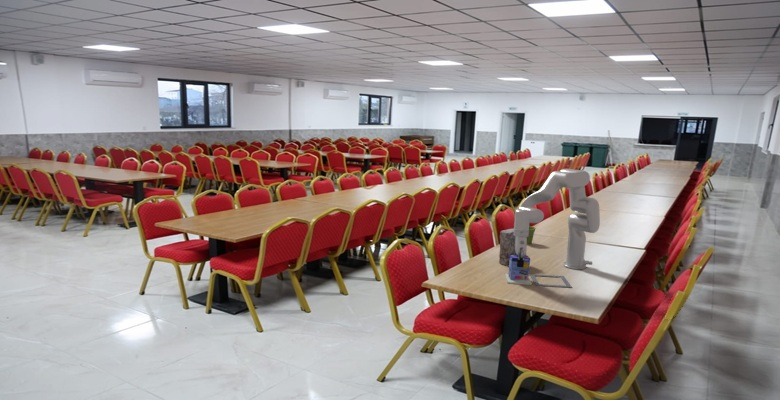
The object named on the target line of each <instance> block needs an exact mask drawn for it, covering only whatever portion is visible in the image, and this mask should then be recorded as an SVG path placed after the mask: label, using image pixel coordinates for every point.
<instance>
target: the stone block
mask: <svg viewBox="0 0 780 400" xmlns="http://www.w3.org/2000/svg"><path fill="white" fill-rule="evenodd" d="M515 237H516V236H514V228H508V229H504V230H501V231H500V232H499V256H498V257H499V260H498V261H499V262H498V263H499V264H501V265H503V266H509V261H510V255H515Z"/></svg>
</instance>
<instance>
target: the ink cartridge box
mask: <svg viewBox="0 0 780 400" xmlns="http://www.w3.org/2000/svg"><path fill="white" fill-rule="evenodd" d="M519 257H520V256H519ZM517 260H518V255H510V261H509V265H508V274H509V275H508V276H509V278H510V279H513V280H528V277H529V275H530V263H531V258H530V256H529V255H527V254H526V256H525V255H524V267H517Z"/></svg>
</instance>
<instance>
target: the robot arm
mask: <svg viewBox="0 0 780 400" xmlns="http://www.w3.org/2000/svg"><path fill="white" fill-rule="evenodd" d="M590 177H591V176H590V174H589V172H588V171H586V170H581V169H580V170H579V169H573V168H562V169H560V170H554V171H552V172H550V174H549V175H548V176H547V179H546V180H545V182H544V183H543V184H542V185H541V187H540V189H539V190H537V191H534V193H532V194H530V195H528V196H527V197H526V198H525V199H523V201H522V203H520V205H519V207H518V209H516V210H515V212H514V223H513V229H514V236H516V237H515V255H518V260H517V267H524V255H525V256H526V255H527V252H528V251H527V248H528V244H527V237H528V234H529V226H530V224H539V223H541V222H542V221H543V220H544V217H545V214H544V212H543V211H542V210H541V209H539V208H536V207H535V206H536V205H539V204H542V203H547V202H551V201H552V200H554V199H555V197H556V195H557V194H558V193H559V191H560V190H561V188H564V189H568V191H569V192H568V194H569V197H568V198H569V208H570V210H571V211H572V212H573V213H572V214H570V215H569V216H568V218H567V225H568V238H567V239H568V240H567V247H566V248H567V249H566V250H567V251H566V258H565V259H566V260H565V261H564V262H563V264H562V265H563V267H566V268H568V269H572V270H585V269H586V268H587V265H591V266H592V265H593V261H589V260H585V252H586V242H587V236H586V233H589V234H595V233H597V232H598V231H599V229H600V225H601V222H600V219H601V218H600V203H599V201H598V200H597V199H596V198H594V197H590V196H587V195H586V187H585V186H587V185H588V184H589V182H590V180H591V178H590ZM534 207H535V208H534ZM519 256H520V257H519Z"/></svg>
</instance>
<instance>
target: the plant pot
mask: <svg viewBox="0 0 780 400" xmlns="http://www.w3.org/2000/svg"><path fill="white" fill-rule="evenodd" d="M536 229H537V227H535V226H531V225H529V234H528V237H527V245H532V243H533V240H534V236H535V235H534V234H535V232H536Z"/></svg>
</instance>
